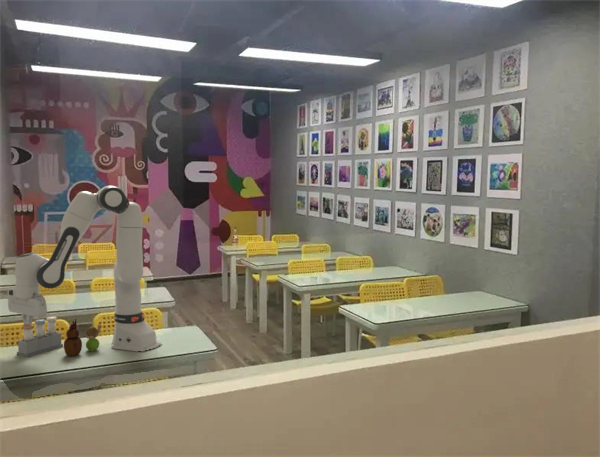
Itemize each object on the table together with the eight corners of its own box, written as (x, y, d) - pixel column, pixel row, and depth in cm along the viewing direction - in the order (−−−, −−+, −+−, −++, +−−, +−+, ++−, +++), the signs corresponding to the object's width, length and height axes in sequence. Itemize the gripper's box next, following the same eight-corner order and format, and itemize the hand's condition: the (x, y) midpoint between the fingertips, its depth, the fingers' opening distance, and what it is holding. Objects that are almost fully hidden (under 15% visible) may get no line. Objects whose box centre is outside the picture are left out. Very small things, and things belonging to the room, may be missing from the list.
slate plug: (47, 338, 221) (47, 320, 220) (39, 340, 217) (38, 322, 217) (41, 337, 223) (41, 318, 222) (33, 339, 219) (32, 320, 219)
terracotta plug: (36, 343, 216) (35, 324, 215) (27, 345, 213) (26, 326, 212) (29, 341, 218) (29, 323, 217) (20, 344, 214) (20, 325, 214)
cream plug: (58, 335, 226) (58, 317, 225) (50, 337, 222) (50, 319, 222) (52, 333, 228) (52, 316, 227) (44, 336, 224) (44, 318, 223)
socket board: (63, 346, 226) (62, 333, 226) (27, 357, 211) (27, 342, 211) (52, 344, 229) (52, 330, 229) (16, 354, 215) (16, 340, 214)
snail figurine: (103, 350, 222) (103, 322, 222) (89, 353, 218) (88, 325, 217) (98, 347, 226) (98, 320, 225) (83, 350, 222) (83, 322, 221)
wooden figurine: (77, 351, 219) (76, 317, 218) (84, 354, 216) (83, 319, 215) (61, 355, 214) (61, 320, 213) (68, 358, 211) (67, 322, 209)
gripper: (50, 293, 212) (51, 326, 213) (19, 288, 221) (19, 319, 222) (37, 296, 206) (37, 330, 207) (4, 290, 215) (5, 322, 216)
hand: (27, 324), depth 215 cm, fingers closed
